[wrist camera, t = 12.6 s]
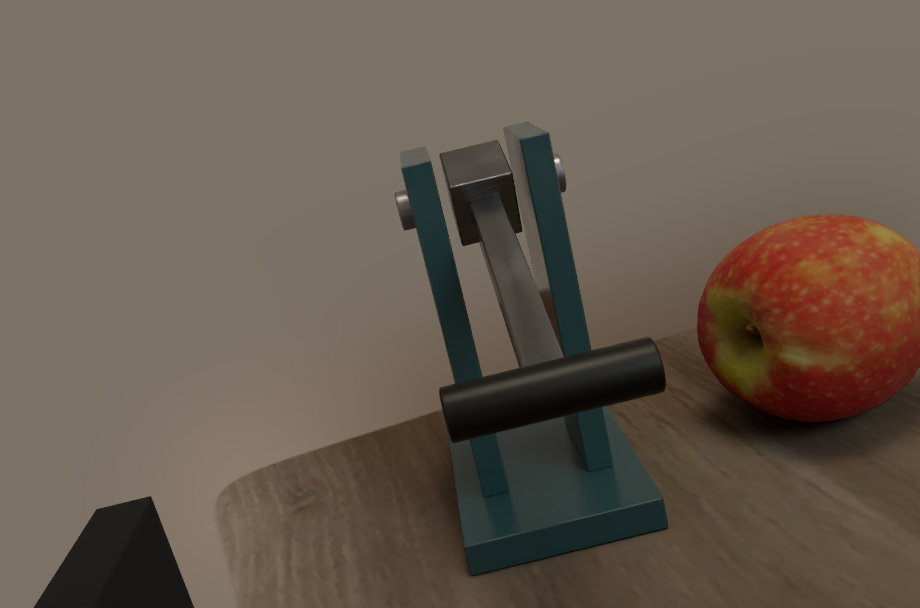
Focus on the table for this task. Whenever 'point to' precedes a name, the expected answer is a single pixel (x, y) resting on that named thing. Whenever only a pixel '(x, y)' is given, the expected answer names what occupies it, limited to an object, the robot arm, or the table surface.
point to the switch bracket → (545, 443)
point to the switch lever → (527, 320)
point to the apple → (814, 317)
